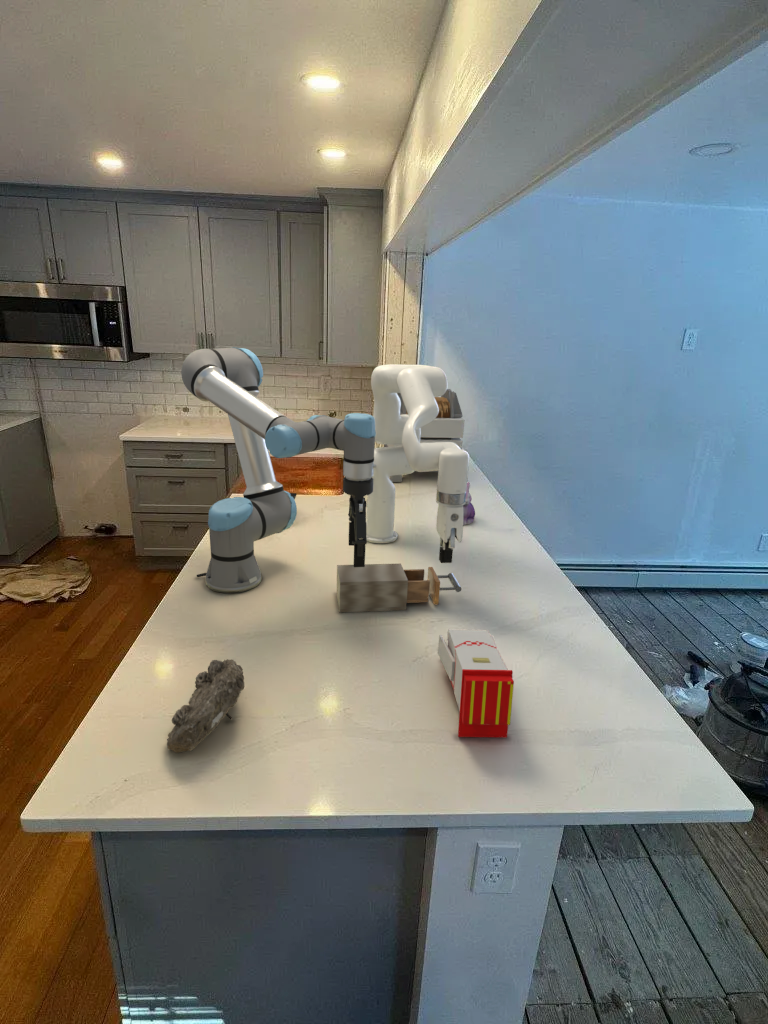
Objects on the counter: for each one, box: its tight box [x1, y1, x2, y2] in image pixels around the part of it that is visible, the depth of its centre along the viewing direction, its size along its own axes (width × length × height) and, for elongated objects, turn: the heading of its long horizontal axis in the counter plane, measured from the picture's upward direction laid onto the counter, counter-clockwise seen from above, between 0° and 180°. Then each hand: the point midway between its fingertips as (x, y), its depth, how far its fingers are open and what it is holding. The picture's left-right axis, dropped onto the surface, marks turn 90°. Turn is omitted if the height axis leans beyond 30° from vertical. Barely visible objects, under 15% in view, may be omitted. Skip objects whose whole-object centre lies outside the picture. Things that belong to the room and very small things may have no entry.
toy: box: [437, 628, 515, 738], centre depth 117 cm, size 12×13×30 cm
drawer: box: [403, 566, 462, 605], centre depth 154 cm, size 23×9×7 cm, turn 99°
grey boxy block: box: [336, 563, 408, 613], centre depth 152 cm, size 18×10×9 cm, turn 99°
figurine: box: [463, 481, 476, 526], centre depth 212 cm, size 9×10×15 cm
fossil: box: [166, 658, 245, 754], centre depth 106 cm, size 22×10×15 cm
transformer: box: [383, 388, 465, 483], centre depth 268 cm, size 34×33×41 cm
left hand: (356, 555), depth 148 cm, fingers open, 13 cm apart
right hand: (445, 561), depth 152 cm, fingers closed
